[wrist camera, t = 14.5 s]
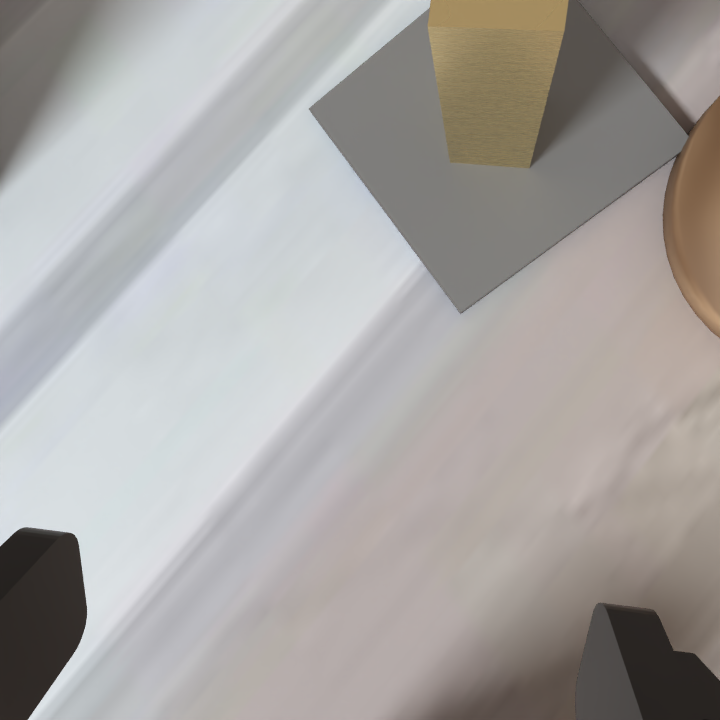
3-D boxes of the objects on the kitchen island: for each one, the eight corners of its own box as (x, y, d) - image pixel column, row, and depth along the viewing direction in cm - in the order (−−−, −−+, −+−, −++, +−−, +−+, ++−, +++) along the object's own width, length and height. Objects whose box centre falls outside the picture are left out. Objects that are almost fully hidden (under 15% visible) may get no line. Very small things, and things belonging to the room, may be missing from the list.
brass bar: (449, 162, 28) (427, 26, 17) (460, 84, 28) (445, -108, 17) (529, 168, 28) (564, 31, 16) (540, 88, 28) (583, -109, 16)
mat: (311, 113, 30) (308, 108, 30) (520, -60, 28) (521, -69, 28) (460, 313, 29) (460, 312, 28) (688, 146, 27) (693, 141, 27)
